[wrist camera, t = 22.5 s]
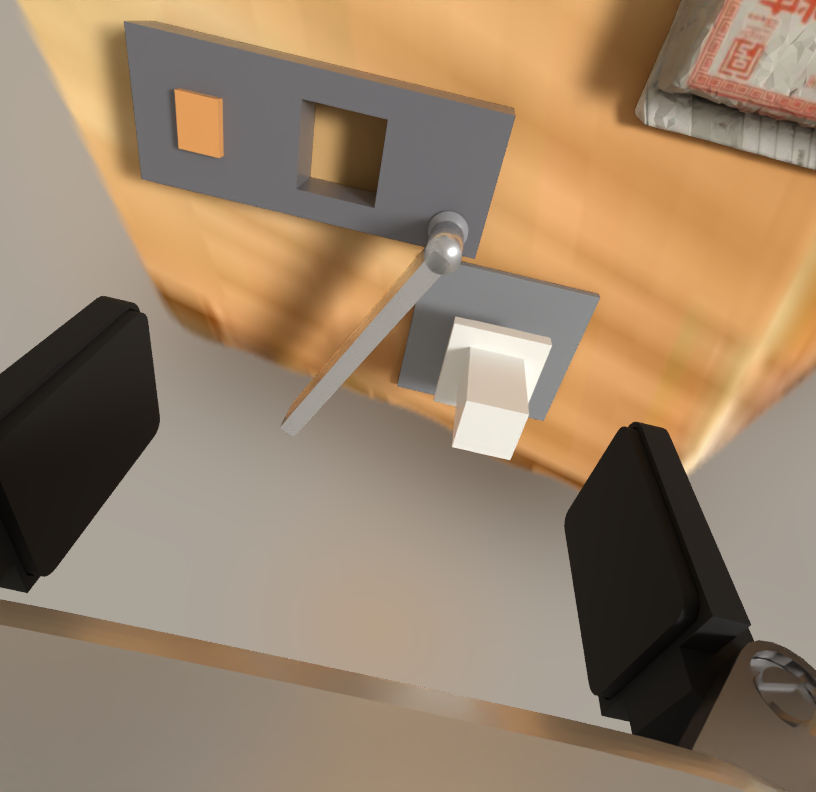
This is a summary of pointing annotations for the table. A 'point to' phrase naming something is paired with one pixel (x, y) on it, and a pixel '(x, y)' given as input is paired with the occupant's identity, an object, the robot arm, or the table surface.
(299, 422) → the grey long bar
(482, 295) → the mat
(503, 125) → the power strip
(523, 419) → the plug
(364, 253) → the table surface
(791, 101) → the packaged product
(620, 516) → the robot arm
